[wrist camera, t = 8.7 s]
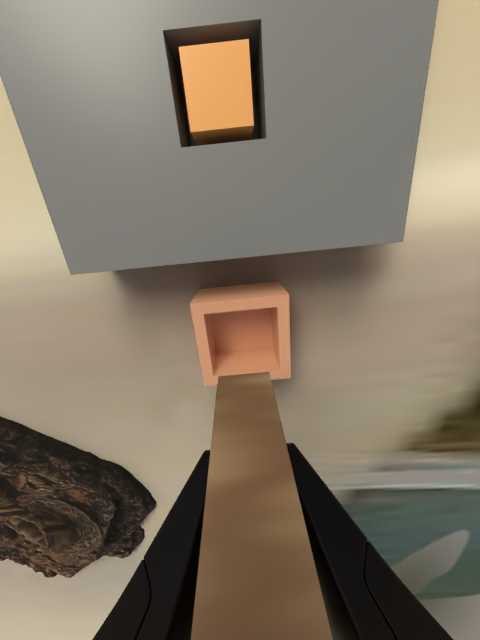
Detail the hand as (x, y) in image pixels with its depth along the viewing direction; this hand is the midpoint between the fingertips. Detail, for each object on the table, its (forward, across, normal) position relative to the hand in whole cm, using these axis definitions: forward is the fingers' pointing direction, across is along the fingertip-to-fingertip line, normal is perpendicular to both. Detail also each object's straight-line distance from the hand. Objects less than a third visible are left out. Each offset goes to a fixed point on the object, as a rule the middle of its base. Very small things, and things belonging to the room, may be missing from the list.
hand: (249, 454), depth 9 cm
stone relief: (+14, +28, +21) cm, 38 cm away
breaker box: (+13, 0, -14) cm, 19 cm away
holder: (+13, 0, 0) cm, 13 cm away
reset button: (+12, 0, -14) cm, 19 cm away
